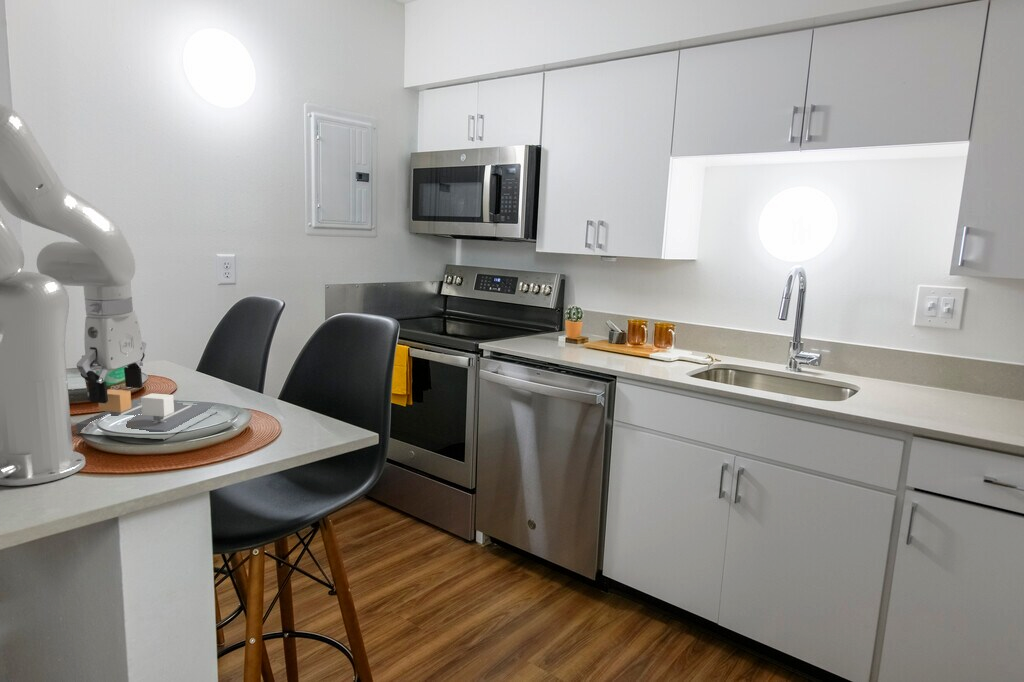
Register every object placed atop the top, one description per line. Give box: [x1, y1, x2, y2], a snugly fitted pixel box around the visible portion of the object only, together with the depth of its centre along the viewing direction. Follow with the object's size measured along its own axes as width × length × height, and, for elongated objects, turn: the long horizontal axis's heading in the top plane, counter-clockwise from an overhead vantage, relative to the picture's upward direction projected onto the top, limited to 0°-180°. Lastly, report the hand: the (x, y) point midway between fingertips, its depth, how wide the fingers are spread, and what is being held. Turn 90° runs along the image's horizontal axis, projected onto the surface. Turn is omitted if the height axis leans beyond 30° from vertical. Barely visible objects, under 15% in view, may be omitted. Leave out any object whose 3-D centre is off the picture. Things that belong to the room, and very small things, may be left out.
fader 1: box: [97, 389, 132, 416], centre depth 123 cm, size 3×4×5 cm
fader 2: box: [140, 393, 175, 421], centre depth 122 cm, size 3×4×5 cm
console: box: [76, 397, 218, 435], centre depth 128 cm, size 18×17×2 cm
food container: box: [81, 355, 128, 401], centre depth 144 cm, size 12×6×10 cm, turn 179°
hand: (117, 394), depth 124 cm, fingers open, 9 cm apart
